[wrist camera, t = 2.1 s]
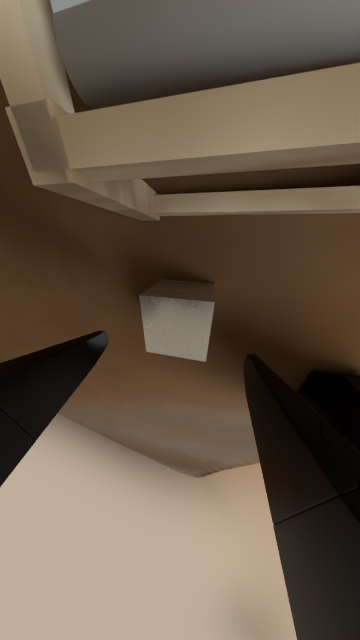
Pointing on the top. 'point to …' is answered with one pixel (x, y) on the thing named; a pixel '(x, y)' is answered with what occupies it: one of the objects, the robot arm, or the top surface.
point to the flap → (197, 43)
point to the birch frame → (175, 132)
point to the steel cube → (178, 318)
